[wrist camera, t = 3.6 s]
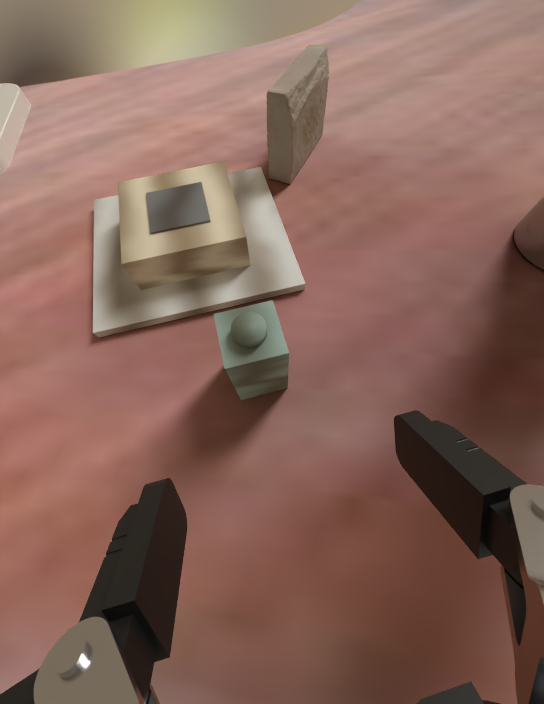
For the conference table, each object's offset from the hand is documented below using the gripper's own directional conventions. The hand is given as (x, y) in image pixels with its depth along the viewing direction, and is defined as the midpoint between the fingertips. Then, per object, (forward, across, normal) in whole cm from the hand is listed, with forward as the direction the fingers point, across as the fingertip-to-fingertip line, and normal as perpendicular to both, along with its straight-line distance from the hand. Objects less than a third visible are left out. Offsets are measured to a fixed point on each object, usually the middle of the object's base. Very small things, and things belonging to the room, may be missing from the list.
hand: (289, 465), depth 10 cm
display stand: (+30, +4, -9) cm, 31 cm away
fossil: (+38, -13, -17) cm, 44 cm away
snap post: (+17, 0, +4) cm, 17 cm away
